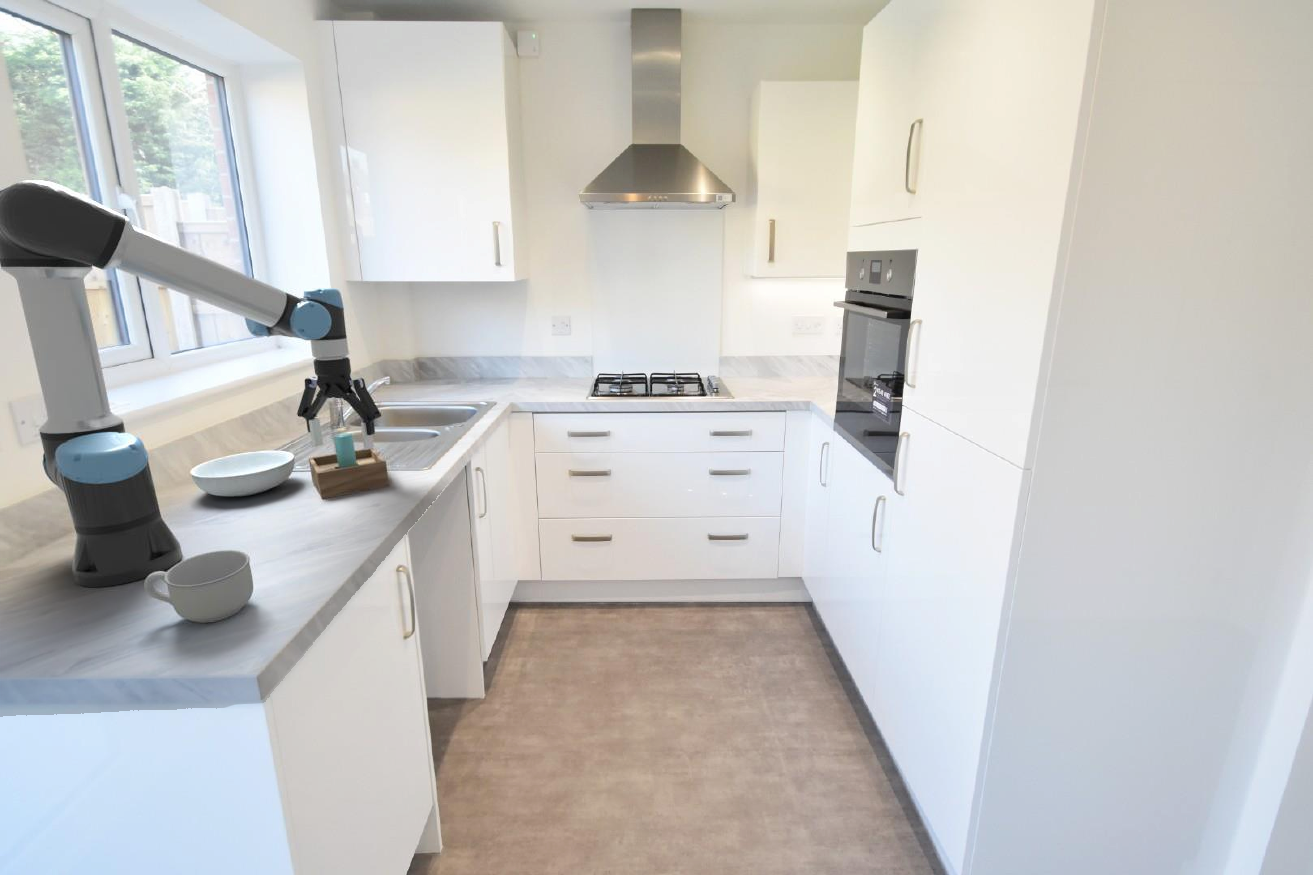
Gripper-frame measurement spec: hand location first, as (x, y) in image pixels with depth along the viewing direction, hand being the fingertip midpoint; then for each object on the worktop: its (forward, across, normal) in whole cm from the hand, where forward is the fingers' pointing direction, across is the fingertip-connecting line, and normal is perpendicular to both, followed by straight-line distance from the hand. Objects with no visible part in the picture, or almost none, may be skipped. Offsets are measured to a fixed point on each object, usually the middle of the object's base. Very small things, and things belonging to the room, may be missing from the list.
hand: (343, 447), depth 155 cm
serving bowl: (+10, +21, +7) cm, 25 cm away
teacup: (+10, -16, +57) cm, 60 cm away
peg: (+9, 0, 0) cm, 9 cm away
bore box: (+9, 0, 0) cm, 9 cm away
